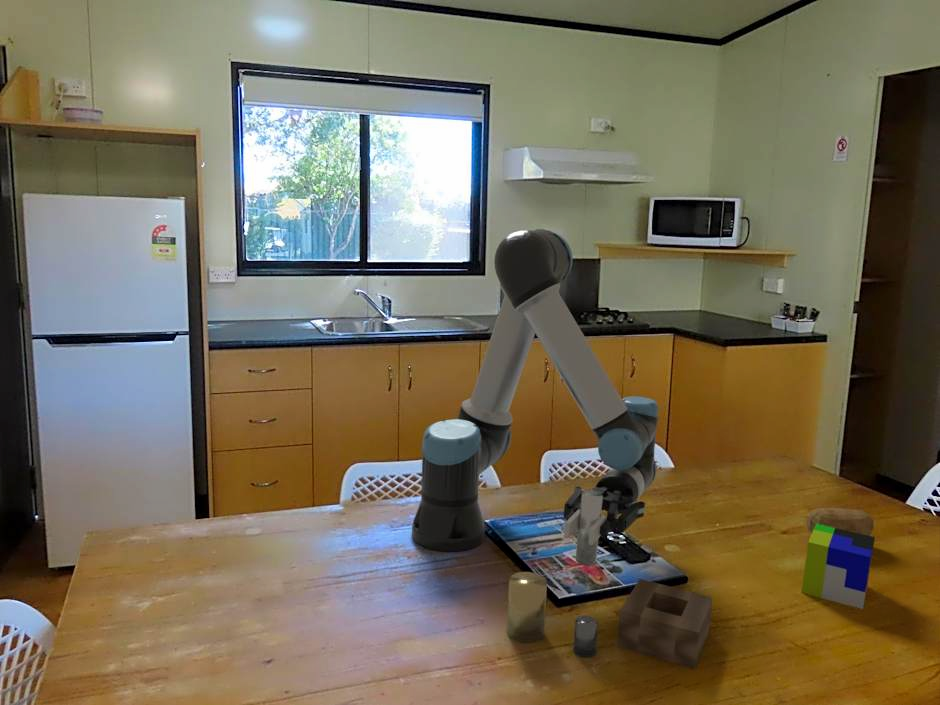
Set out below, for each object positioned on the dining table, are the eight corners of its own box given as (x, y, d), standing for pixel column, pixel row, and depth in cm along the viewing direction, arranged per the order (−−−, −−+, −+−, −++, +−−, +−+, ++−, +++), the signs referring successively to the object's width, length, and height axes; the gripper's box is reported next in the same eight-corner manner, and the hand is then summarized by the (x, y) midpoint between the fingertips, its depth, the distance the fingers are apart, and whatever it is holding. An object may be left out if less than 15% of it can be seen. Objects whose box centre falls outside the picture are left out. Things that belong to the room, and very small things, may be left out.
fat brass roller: (500, 636, 118) (503, 584, 117) (515, 618, 124) (518, 568, 122) (535, 647, 116) (538, 594, 114) (549, 629, 121) (552, 577, 119)
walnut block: (617, 645, 117) (619, 610, 116) (637, 611, 127) (639, 578, 126) (694, 669, 112) (698, 632, 110) (709, 631, 122) (712, 597, 121)
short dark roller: (569, 653, 114) (571, 623, 114) (577, 642, 118) (579, 613, 117) (591, 660, 113) (594, 630, 112) (598, 648, 116) (601, 619, 115)
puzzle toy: (862, 609, 131) (870, 557, 129) (801, 592, 136) (808, 542, 134) (867, 586, 139) (874, 537, 138) (809, 571, 145) (816, 523, 143)
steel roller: (572, 561, 126) (579, 495, 124) (579, 553, 130) (585, 489, 127) (592, 567, 125) (599, 500, 123) (598, 559, 128) (605, 493, 126)
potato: (883, 554, 153) (889, 518, 152) (820, 556, 151) (825, 519, 150) (854, 534, 163) (859, 500, 161) (794, 535, 161) (798, 500, 159)
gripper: (660, 518, 139) (626, 568, 118) (576, 497, 146) (530, 542, 125) (665, 480, 137) (631, 524, 117) (580, 461, 144) (533, 500, 124)
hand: (579, 533), depth 121 cm, fingers closed on steel roller, 3 cm apart
